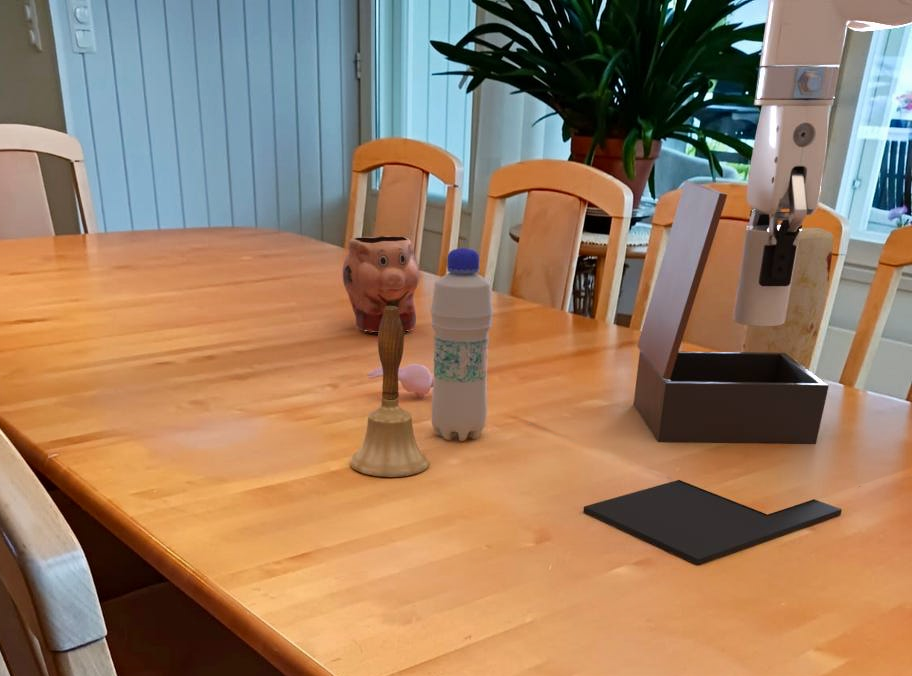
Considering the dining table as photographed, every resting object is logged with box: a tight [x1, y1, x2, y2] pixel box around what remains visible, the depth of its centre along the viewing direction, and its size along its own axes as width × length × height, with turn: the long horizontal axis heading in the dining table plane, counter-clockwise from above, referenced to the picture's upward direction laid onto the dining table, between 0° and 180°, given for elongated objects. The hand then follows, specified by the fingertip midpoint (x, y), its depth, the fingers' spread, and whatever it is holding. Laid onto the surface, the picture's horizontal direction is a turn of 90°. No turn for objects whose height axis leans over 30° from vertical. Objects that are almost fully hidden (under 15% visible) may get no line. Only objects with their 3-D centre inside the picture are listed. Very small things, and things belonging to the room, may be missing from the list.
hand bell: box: [349, 306, 430, 478], centre depth 98 cm, size 8×8×16 cm
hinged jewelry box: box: [633, 350, 830, 445], centre depth 112 cm, size 18×15×7 cm
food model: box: [740, 227, 834, 369], centre depth 126 cm, size 10×7×20 cm
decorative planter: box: [342, 235, 421, 332], centre depth 156 cm, size 20×12×14 cm, turn 22°
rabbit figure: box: [366, 363, 434, 398], centre depth 123 cm, size 6×6×15 cm
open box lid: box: [636, 180, 728, 379], centre depth 106 cm, size 18×15×1 cm
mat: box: [583, 479, 843, 566], centre depth 91 cm, size 20×14×1 cm
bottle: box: [430, 247, 494, 442], centre depth 106 cm, size 7×7×20 cm
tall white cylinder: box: [731, 225, 801, 326], centre depth 105 cm, size 6×6×10 cm
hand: (765, 278), depth 105 cm, fingers closed on tall white cylinder, 5 cm apart
